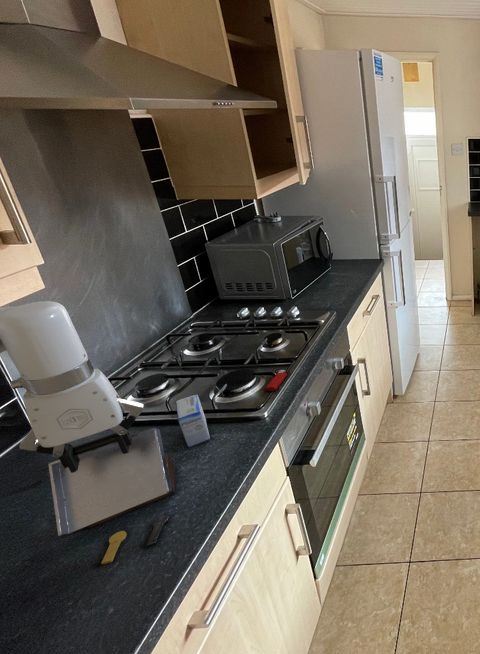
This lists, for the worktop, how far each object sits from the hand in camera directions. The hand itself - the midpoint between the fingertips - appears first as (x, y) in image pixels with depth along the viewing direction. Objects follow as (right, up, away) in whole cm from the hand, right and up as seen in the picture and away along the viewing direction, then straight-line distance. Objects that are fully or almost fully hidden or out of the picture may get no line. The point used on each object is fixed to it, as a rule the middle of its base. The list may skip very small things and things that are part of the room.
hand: (101, 456), depth 74 cm
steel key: (+6, -16, +4) cm, 18 cm away
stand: (-4, -13, +11) cm, 17 cm away
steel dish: (-1, -6, +4) cm, 7 cm away
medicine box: (-3, -6, +27) cm, 28 cm away
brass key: (+1, -17, +1) cm, 17 cm away
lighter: (+6, +1, +45) cm, 46 cm away
